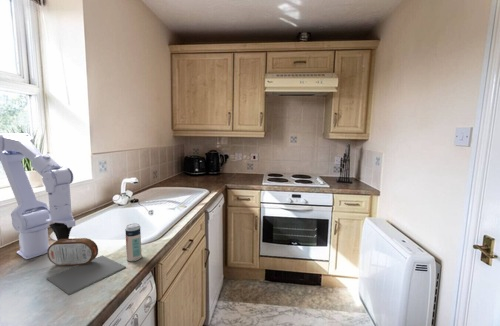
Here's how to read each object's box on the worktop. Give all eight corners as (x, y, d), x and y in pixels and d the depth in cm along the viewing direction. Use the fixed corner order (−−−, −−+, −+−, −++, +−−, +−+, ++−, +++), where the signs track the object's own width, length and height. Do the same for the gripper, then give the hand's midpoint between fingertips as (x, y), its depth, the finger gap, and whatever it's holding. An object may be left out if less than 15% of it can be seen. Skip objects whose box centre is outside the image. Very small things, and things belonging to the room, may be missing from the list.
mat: (46, 278, 72) (46, 277, 72) (102, 256, 86) (102, 255, 86) (69, 295, 65) (68, 293, 65) (125, 267, 78) (125, 266, 78)
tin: (99, 260, 82) (97, 236, 81) (94, 265, 78) (91, 240, 78) (54, 262, 81) (51, 238, 80) (46, 267, 78) (43, 242, 77)
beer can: (132, 254, 87) (131, 222, 86) (144, 256, 86) (143, 223, 85) (123, 261, 82) (121, 227, 81) (135, 262, 81) (134, 228, 80)
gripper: (36, 203, 81) (39, 242, 83) (55, 210, 74) (59, 253, 75) (61, 199, 87) (64, 235, 89) (81, 205, 80) (84, 244, 81)
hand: (63, 243), depth 82 cm, fingers closed
